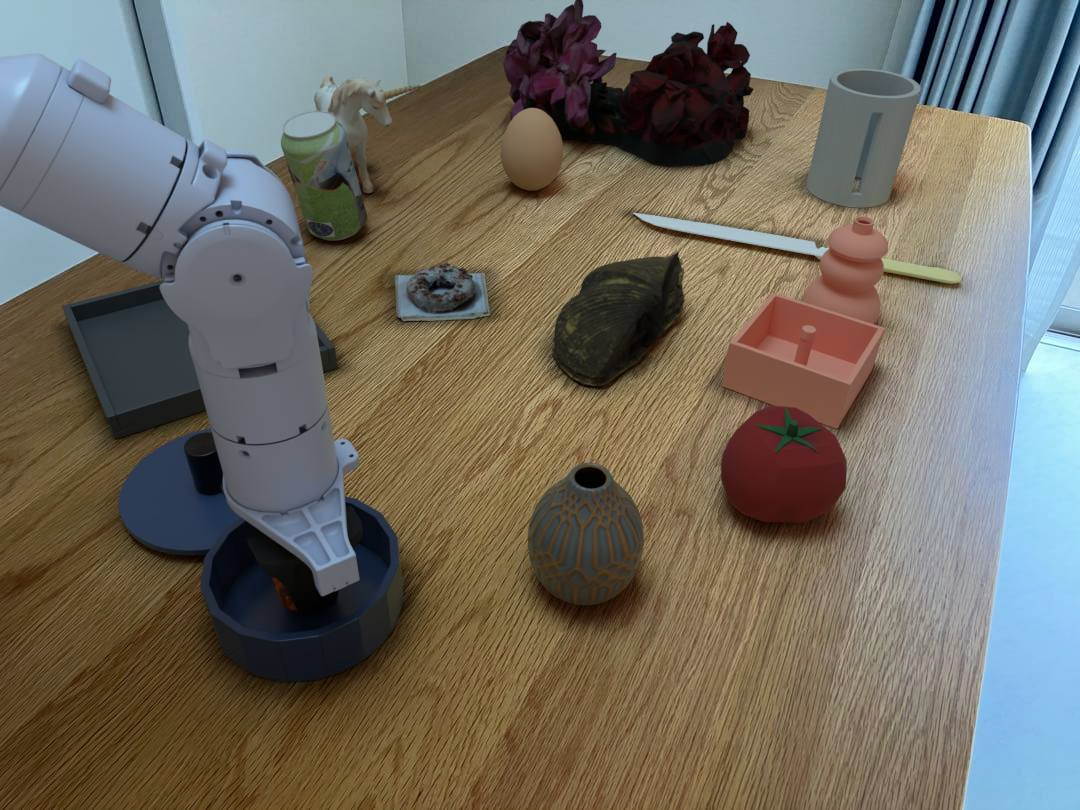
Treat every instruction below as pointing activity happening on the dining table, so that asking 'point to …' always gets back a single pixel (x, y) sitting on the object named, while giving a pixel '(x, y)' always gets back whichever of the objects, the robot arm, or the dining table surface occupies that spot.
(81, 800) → the dining table surface
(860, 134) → the cup
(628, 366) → the seashell
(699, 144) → the flower arrangement
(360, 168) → the unicorn figurine
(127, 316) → the tray
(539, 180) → the egg
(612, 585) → the vase
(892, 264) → the knife
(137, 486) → the tin lid
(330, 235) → the beverage can
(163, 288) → the robot arm
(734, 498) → the tomato
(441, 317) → the donut
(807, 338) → the pottery
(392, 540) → the tin
